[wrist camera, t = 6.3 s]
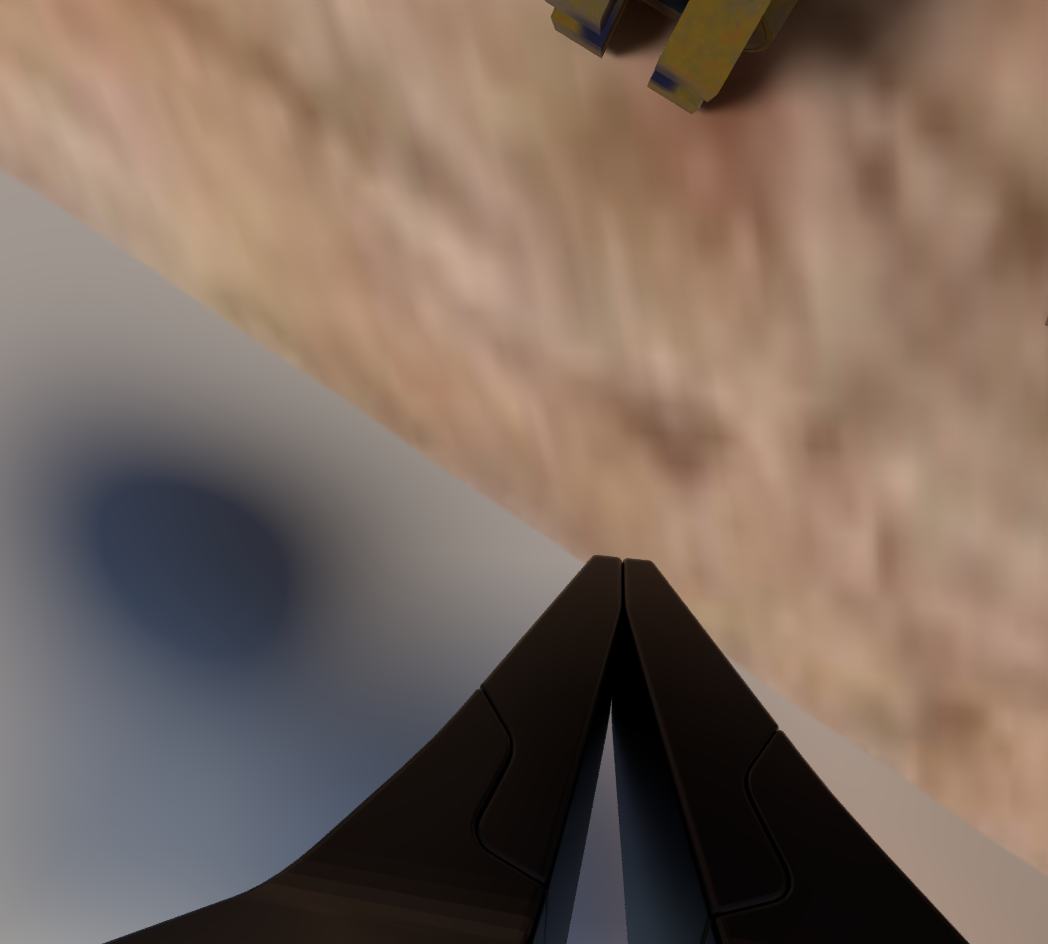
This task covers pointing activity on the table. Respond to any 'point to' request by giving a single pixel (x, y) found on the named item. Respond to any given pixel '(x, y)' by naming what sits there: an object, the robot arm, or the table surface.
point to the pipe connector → (683, 38)
